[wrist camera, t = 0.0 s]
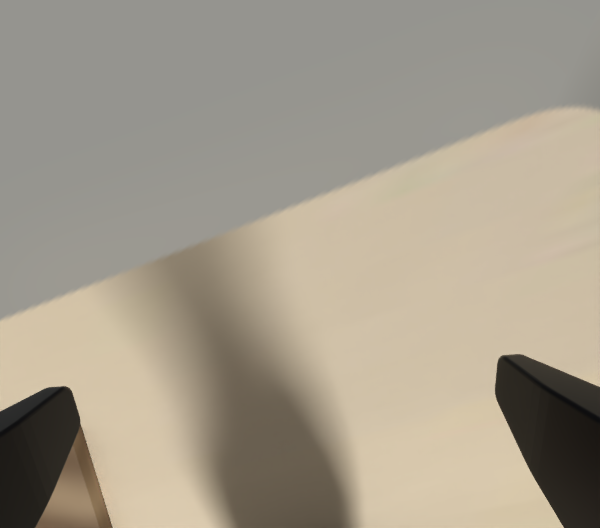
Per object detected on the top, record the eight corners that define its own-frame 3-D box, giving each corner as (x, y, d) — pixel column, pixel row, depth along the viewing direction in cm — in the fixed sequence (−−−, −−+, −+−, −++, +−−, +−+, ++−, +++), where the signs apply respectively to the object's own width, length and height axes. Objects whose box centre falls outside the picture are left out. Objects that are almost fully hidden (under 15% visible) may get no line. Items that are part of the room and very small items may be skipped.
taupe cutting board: (126, 573, 31) (119, 590, 30) (-53, 584, 31) (-66, 601, 30) (80, 425, 27) (71, 439, 25) (-128, 439, 27) (-147, 453, 26)
